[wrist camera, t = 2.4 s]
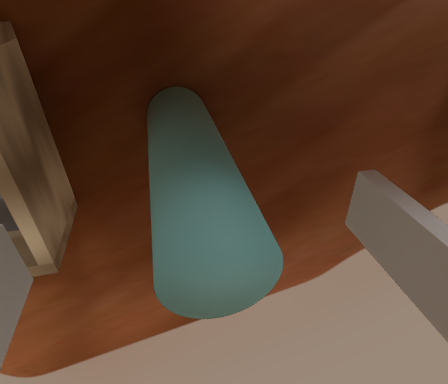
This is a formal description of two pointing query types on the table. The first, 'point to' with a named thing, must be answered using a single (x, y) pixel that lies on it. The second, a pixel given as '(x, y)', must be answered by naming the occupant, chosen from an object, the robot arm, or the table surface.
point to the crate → (30, 168)
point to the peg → (203, 215)
